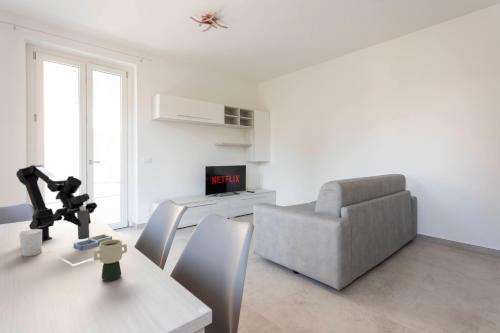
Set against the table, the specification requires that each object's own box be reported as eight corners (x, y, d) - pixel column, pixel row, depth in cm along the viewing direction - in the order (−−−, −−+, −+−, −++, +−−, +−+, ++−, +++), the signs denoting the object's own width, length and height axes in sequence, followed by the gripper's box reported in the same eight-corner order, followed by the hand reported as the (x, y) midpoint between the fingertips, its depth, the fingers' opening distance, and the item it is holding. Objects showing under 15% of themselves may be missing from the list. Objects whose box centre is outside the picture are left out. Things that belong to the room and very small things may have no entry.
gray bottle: (77, 237, 125) (76, 206, 125) (88, 235, 128) (87, 205, 128) (79, 239, 122) (77, 207, 121) (90, 237, 125) (89, 206, 124)
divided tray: (71, 247, 125) (70, 242, 125) (104, 238, 138) (104, 233, 138) (81, 251, 119) (81, 246, 119) (115, 242, 132) (114, 237, 132)
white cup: (30, 257, 113) (28, 234, 112) (15, 256, 114) (14, 233, 114) (47, 251, 120) (46, 229, 120) (33, 249, 122) (32, 228, 122)
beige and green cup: (123, 270, 100) (123, 236, 100) (131, 276, 95) (130, 241, 94) (91, 280, 92) (90, 243, 92) (97, 287, 87) (96, 249, 87)
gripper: (55, 191, 117) (73, 218, 113) (94, 186, 134) (110, 209, 131) (45, 207, 120) (62, 234, 117) (84, 200, 138) (99, 223, 134)
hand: (85, 224), depth 124 cm, fingers closed on gray bottle, 4 cm apart
